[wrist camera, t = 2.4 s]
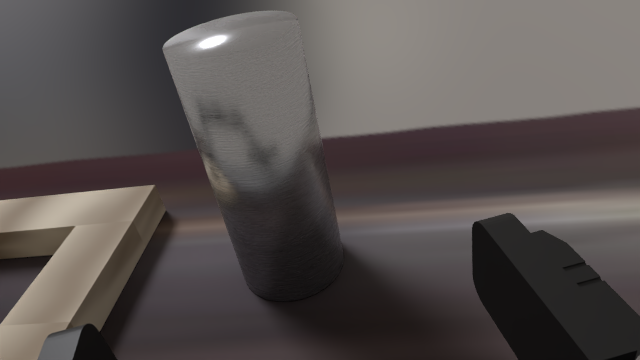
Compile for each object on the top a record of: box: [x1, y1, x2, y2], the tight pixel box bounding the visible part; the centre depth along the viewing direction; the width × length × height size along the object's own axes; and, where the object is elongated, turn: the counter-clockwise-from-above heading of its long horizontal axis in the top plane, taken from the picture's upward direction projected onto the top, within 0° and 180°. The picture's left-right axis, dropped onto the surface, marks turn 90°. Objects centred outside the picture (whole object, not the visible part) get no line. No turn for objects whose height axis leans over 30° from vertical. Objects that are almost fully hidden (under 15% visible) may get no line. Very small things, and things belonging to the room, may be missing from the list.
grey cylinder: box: [163, 11, 344, 301], centre depth 22 cm, size 6×5×12 cm
